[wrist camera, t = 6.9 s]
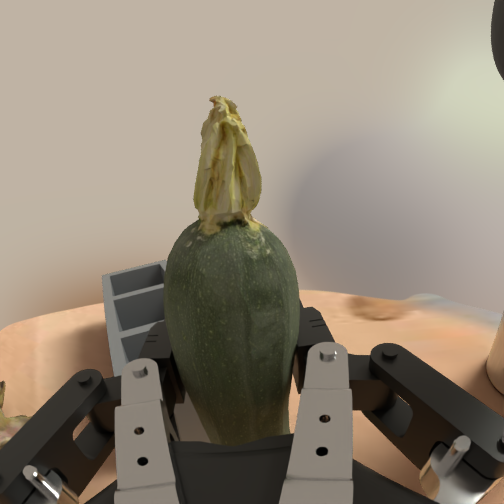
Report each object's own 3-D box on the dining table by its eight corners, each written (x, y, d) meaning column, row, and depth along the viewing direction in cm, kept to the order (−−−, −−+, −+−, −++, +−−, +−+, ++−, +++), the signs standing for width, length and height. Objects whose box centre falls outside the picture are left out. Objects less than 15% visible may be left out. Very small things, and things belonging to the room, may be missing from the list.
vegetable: (284, 527, 11) (254, 51, 5) (212, 509, 13) (95, 100, 6) (303, 470, 15) (298, 90, 9) (239, 458, 16) (183, 108, 10)
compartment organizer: (116, 324, 36) (101, 275, 34) (175, 308, 40) (165, 259, 38) (156, 468, 16) (120, 406, 14) (261, 429, 20) (254, 362, 18)
